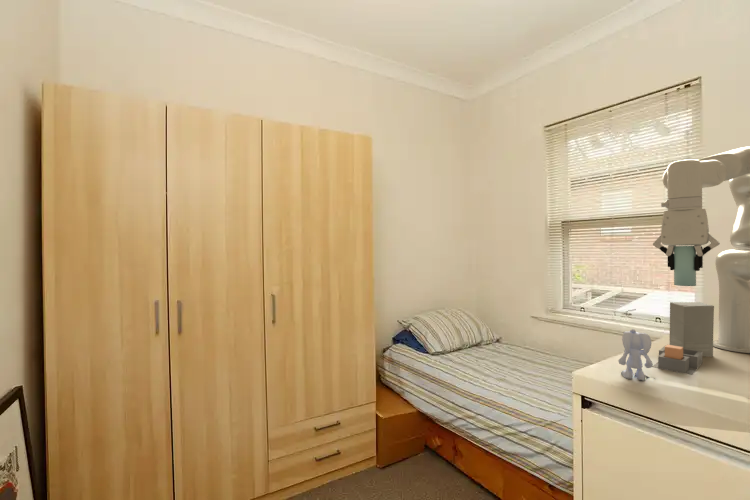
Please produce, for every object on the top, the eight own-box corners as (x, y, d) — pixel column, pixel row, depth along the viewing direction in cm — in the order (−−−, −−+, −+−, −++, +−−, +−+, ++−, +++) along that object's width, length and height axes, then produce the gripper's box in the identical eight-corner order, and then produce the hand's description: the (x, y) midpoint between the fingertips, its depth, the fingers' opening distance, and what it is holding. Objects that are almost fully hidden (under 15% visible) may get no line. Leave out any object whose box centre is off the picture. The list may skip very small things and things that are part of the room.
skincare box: (696, 353, 114) (697, 301, 114) (715, 360, 107) (716, 304, 107) (666, 352, 115) (667, 300, 115) (683, 359, 108) (684, 304, 108)
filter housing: (665, 359, 108) (665, 345, 108) (702, 366, 102) (702, 351, 102) (651, 370, 98) (652, 355, 98) (691, 378, 92) (692, 362, 92)
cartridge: (675, 283, 110) (675, 245, 109) (697, 284, 106) (697, 245, 106) (672, 285, 106) (672, 246, 106) (694, 286, 103) (694, 246, 103)
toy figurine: (648, 376, 93) (648, 327, 93) (654, 384, 88) (655, 332, 88) (615, 372, 96) (616, 324, 96) (619, 379, 91) (620, 329, 90)
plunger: (667, 363, 99) (667, 344, 99) (682, 366, 96) (683, 347, 96) (664, 366, 97) (664, 346, 97) (680, 369, 94) (680, 349, 94)
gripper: (644, 207, 110) (645, 269, 110) (724, 201, 97) (724, 272, 97) (650, 208, 115) (651, 268, 115) (727, 203, 102) (727, 270, 103)
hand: (684, 269), depth 106 cm, fingers closed on cartridge, 4 cm apart
